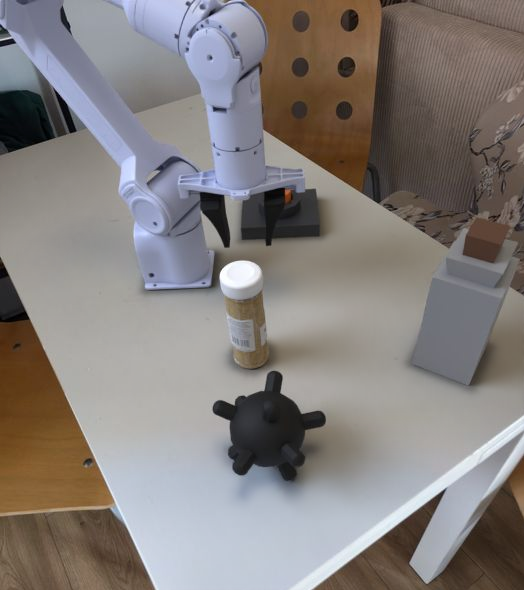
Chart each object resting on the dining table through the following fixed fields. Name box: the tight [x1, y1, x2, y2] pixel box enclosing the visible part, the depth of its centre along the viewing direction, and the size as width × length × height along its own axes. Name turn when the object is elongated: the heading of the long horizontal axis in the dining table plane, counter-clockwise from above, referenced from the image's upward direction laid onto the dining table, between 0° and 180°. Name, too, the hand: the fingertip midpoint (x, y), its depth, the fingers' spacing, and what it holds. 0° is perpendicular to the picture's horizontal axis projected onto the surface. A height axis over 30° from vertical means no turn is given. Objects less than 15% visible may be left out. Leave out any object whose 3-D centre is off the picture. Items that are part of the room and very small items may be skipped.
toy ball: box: [211, 370, 327, 482], centre depth 52 cm, size 11×11×12 cm
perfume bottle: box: [411, 216, 521, 386], centre depth 56 cm, size 7×7×18 cm
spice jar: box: [219, 260, 270, 370], centre depth 59 cm, size 5×5×13 cm
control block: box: [240, 188, 321, 241], centre depth 82 cm, size 12×10×4 cm
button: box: [285, 190, 291, 204], centre depth 80 cm, size 4×4×2 cm
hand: (248, 242), depth 66 cm, fingers open, 5 cm apart
